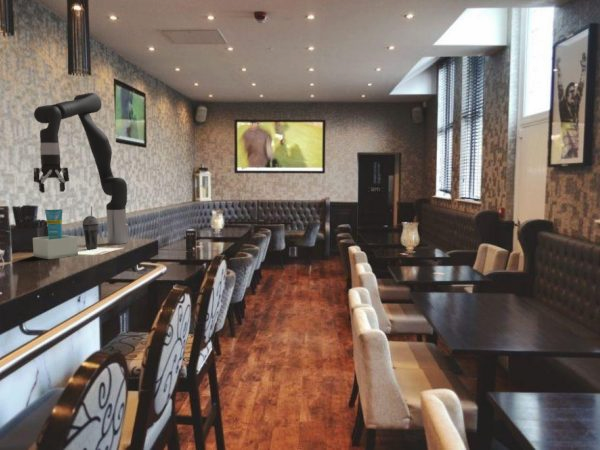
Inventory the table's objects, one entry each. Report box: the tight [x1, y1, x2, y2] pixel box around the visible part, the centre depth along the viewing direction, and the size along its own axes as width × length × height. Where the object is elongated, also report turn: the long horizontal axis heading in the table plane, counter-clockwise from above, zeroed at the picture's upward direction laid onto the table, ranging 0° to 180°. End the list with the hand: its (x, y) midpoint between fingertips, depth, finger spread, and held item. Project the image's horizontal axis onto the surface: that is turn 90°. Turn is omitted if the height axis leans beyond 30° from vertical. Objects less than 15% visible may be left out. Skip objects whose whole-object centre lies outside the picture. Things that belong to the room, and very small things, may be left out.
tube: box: [44, 208, 63, 240], centre depth 234 cm, size 7×5×19 cm, turn 96°
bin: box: [32, 234, 79, 260], centre depth 234 cm, size 13×13×8 cm
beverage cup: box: [82, 206, 99, 250], centre depth 254 cm, size 7×7×20 cm
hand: (52, 192), depth 232 cm, fingers open, 8 cm apart
